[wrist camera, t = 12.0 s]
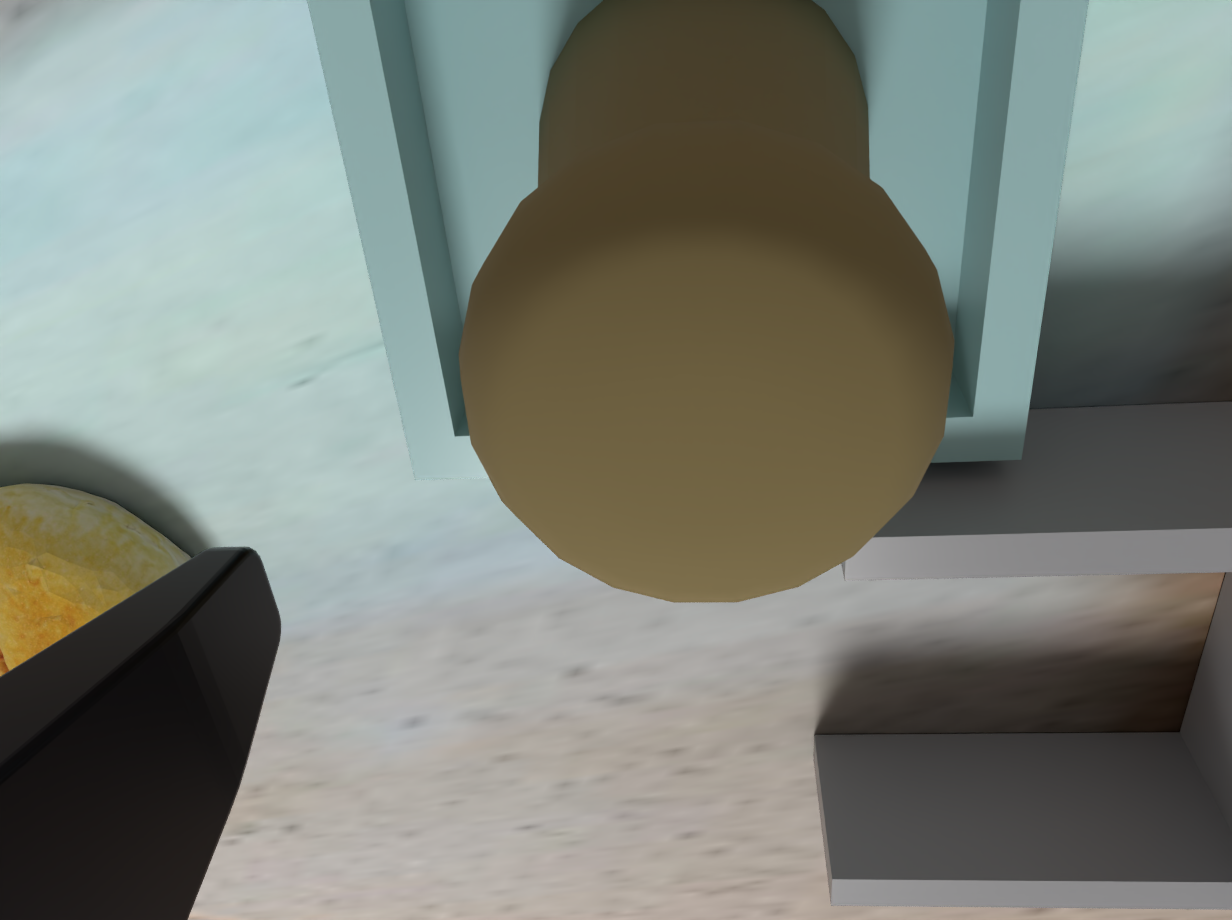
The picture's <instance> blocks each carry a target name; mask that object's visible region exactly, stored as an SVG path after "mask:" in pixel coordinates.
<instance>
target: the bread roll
mask: <svg viewBox="0 0 1232 920" xmlns="http://www.w3.org/2000/svg"><path fill="white" fill-rule="evenodd" d="M190 559H191V557H190V556H189V555H188V554H187V553H185V552H184V551H182V550H181V549H179V548H178V547H177V546H176V545H175V544H174V543H173V542H171V541H170V540H169V539H167V538H166V537H165V536H163V535H162V534H161V533H159V532H158V531H156V530H155V529H153V528H152V527H150V526H149V525H148V524H146V523H145V522H143V521H142V520H141V519H139V518H138V517H136V516H135V515H133V514H132V513H130V512H129V511H127V510H126V509H124V508H123V507H121V506H120V505H118V504H117V503H114V502H112V501H110V500H107V499H105V498H102V497H98V496H94V495H92V494H89V493H86V492H84V491H80V490H76V489H71V488H66V487H62V486H54V485H45V484H27V483H25V484H18V485H11V486H5V487H0V676H2V675H3V674H5V673H7V672H8V671H10V670H11V669H13V668H15V667H16V666H18V665H20V664H21V663H23V662H24V661H26V660H28V659H29V658H31V657H33V656H34V655H36V654H37V653H39V652H41V651H42V650H44V649H45V648H47V647H49V646H50V645H52V644H54V643H55V642H57V641H58V640H60V639H62V638H63V637H65V636H67V635H68V634H70V633H71V632H73V631H75V630H76V629H78V628H79V627H81V626H83V625H84V624H86V623H88V622H89V621H91V620H92V619H94V618H96V617H97V616H99V615H101V614H102V613H104V612H105V611H107V610H109V609H110V608H112V607H113V606H115V605H117V604H118V603H120V602H122V601H123V600H125V599H126V598H128V597H130V596H131V595H133V594H135V593H136V592H138V591H139V590H141V589H143V588H144V587H146V586H147V585H149V584H151V583H152V582H154V581H156V580H157V579H159V578H160V577H162V576H164V575H165V574H167V573H169V572H170V571H172V570H173V569H175V568H177V567H178V566H180V565H182V564H183V563H185V562H186V561H188V560H190Z"/></svg>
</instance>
